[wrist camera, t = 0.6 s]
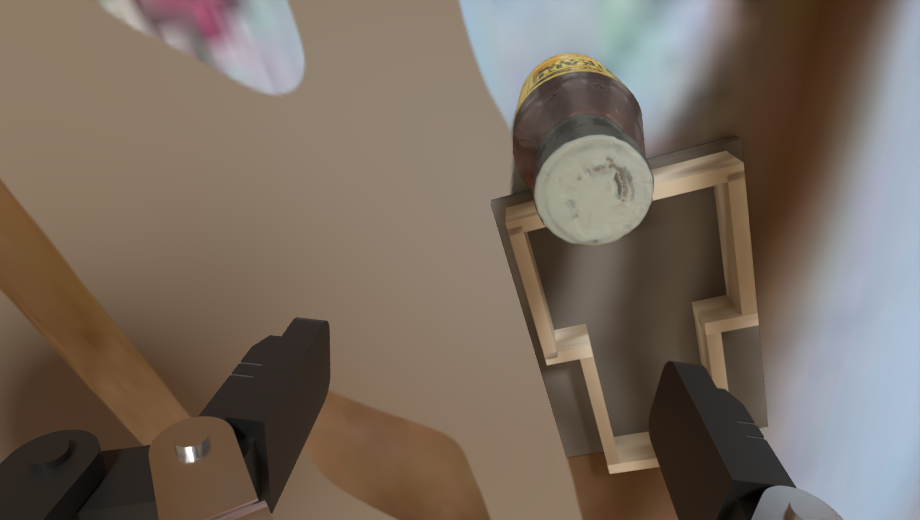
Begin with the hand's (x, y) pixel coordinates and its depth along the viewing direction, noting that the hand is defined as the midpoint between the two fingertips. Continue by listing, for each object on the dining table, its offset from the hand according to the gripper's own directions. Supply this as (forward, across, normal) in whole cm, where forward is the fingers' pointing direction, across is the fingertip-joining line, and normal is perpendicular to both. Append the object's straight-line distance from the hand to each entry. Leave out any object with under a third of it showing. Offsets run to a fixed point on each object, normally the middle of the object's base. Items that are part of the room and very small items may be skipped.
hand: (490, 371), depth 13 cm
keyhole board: (+27, -13, +13) cm, 32 cm away
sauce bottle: (+27, -4, -3) cm, 27 cm away
